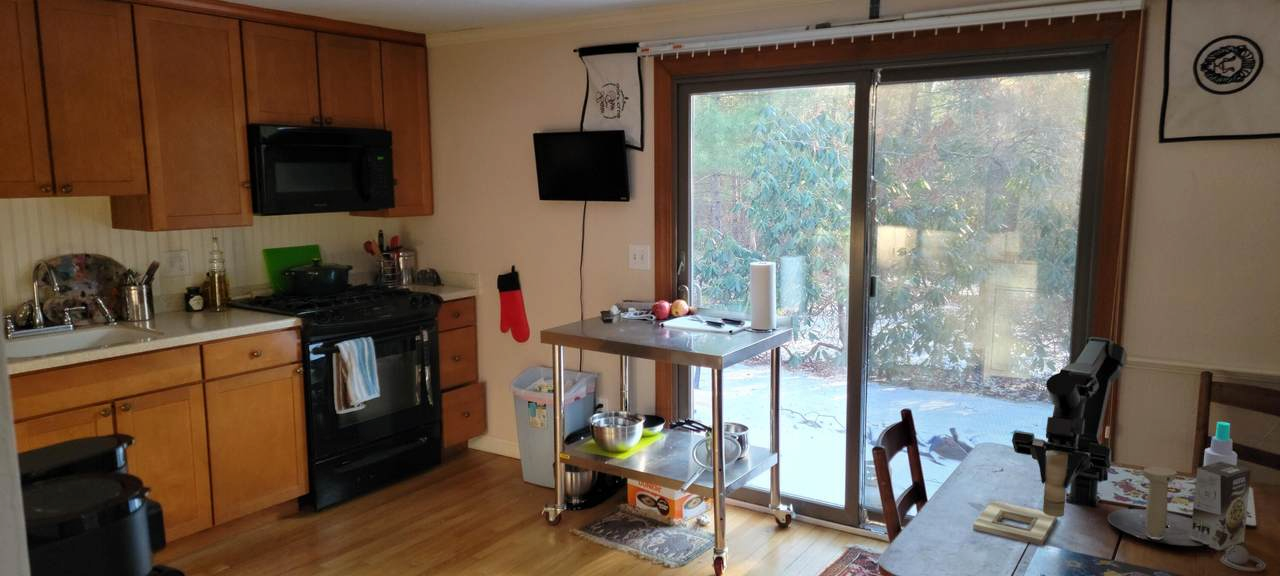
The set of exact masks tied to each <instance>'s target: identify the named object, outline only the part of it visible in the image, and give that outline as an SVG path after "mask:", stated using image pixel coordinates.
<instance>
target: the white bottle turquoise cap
mask: <svg viewBox="0 0 1280 576" xmlns="http://www.w3.org/2000/svg"><path fill="white" fill-rule="evenodd" d="M1215 429H1216V430H1215V436H1212V437H1211V441H1210V442H1211V443H1210V447H1207V448H1205V449H1204V456H1203V465H1202V467H1203V466H1207V465H1210V464H1214V463H1217V462H1224V463H1228V464H1232V465H1236V466H1237V461H1238V454H1237V452H1235V451H1233V442H1234V441H1233V439H1232V438H1230V435H1231V423H1229V422H1225V421H1217V422H1216V428H1215Z"/></svg>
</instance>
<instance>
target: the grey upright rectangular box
mask: <svg viewBox="0 0 1280 576" xmlns="http://www.w3.org/2000/svg"><path fill="white" fill-rule="evenodd" d="M1251 472H1252V470H1251V469H1249V468H1247V467H1243V466H1240V465H1237V464H1236V465H1232V464H1228V463H1224V462H1217V463H1214V464H1210V465H1207V466H1203V465H1202V466H1199V467H1197V469H1196V478H1195V485H1194V486H1195V488H1194V495H1193V505H1192V506H1193V507H1192V508H1193V509H1192V516H1191V517H1192V518H1191V527H1190V535H1191V536H1193V537H1196V538H1199V539H1202V540H1205V541H1207V542H1210V543H1211V544H1210V545H1209V546H1208V547H1209V548H1211V549H1214V550H1216V551H1222V550H1224V549H1227V547H1228V548H1230V547H1232V546H1231V545H1233V546H1237V545H1238V544H1241V543H1244V541H1245V535H1246V534H1245V533H1246V524H1247V515H1248V503H1249V494H1250V484H1251V475H1252V473H1251ZM1229 546H1230V547H1229Z"/></svg>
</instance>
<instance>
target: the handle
mask: <svg viewBox="0 0 1280 576" xmlns="http://www.w3.org/2000/svg"><path fill="white" fill-rule="evenodd" d="M1177 475H1178V472H1177V471H1176V470H1174V469H1172V468H1168V467H1163V466H1151V467H1145V468H1143V469H1142V476H1143V477H1144V478H1145V479H1147V480H1149V487H1148V494H1147V500H1146V507H1145V514H1144V515H1145V518H1144V521H1145V522H1144V523H1145V524H1144V525H1145V530H1146V531H1145V535H1146V534H1147V535H1149V536H1151V537H1162V536H1165V530H1166V526H1167V521H1168V492H1169V491H1168V487H1169V483H1171V482H1173V481H1174V480H1176V479H1177Z"/></svg>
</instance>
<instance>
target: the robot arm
mask: <svg viewBox="0 0 1280 576" xmlns="http://www.w3.org/2000/svg"><path fill="white" fill-rule="evenodd" d="M1127 361H1128V353H1127V351H1126V349H1125V348H1124V347H1123V346H1121V345H1119V344H1116V343H1115V342H1114V341H1113V340H1111V339H1109V338H1106V337H1105V338H1103V337H1097V336H1091V337H1088V338H1087V340H1086V342H1085V347H1084V348H1083V350H1082V352H1081V353H1080V355H1079V356H1078V357H1077V359H1076V361H1075V362H1073V363H1070V364H1069V363H1068V364H1066V365H1065V366H1063V368H1061V369H1060V370H1059V372H1058V373H1054V374H1053V375H1051V376H1050V377H1049V378H1048V379H1047V380H1046V383H1045V386H1046V389H1047V392H1048V395H1049V398H1050V401H1051V404H1052V405H1053V406H1054V407H1053V410H1052V416H1048V417H1047V420H1046V421H1047V422H1046V428H1045V432H1046V433H1045V438H1046V439H1047V440H1044V439H1042V438H1036V436H1035V433H1034V432H1028V431H1027V432H1026V431H1022V430H1016V431H1015V432H1014V433H1013V435H1012V439H1011V442H1012V446H1013V451H1014V452H1015V453H1016V454H1020V455H1025V456H1031V459H1033V460H1036V462H1037V464H1038V467H1039V472H1040V480H1041V484H1043V485H1045V472H1046V456H1047V451H1061V452H1065V453H1067V454H1068V462H1067V476H1066V479H1065V485H1064V486H1065V488H1066V489H1068V487H1069V486H1070V488H1069V493H1068V495H1067V496H1066V497H1065V502H1067V503H1073V504H1077V505H1083V506H1088V507H1091V508H1093V507H1094V508H1096V507H1097V506H1098V505H1099V502H1100V500H1101V497H1100V496H1098V487H1099V486H1098V485H1099V484H1098V483H1102V482H1107V481H1108V480H1109V479H1108V477H1109V470H1108V469H1111V464H1112V449H1111V447H1110V446H1109V444H1103V443H1101V442H1100V437H1101V433H1102V427H1103V424H1104V419H1105V415H1106V409H1107V405H1108V401H1109V395H1110V393H1111V386H1112V383H1114V382H1115V381H1116V380H1118V378H1120V377H1121V375H1122V372H1123V368H1125V367H1126V366H1127ZM1081 397H1082V398H1085V402H1084V400H1083V399H1082V398H1081Z"/></svg>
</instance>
